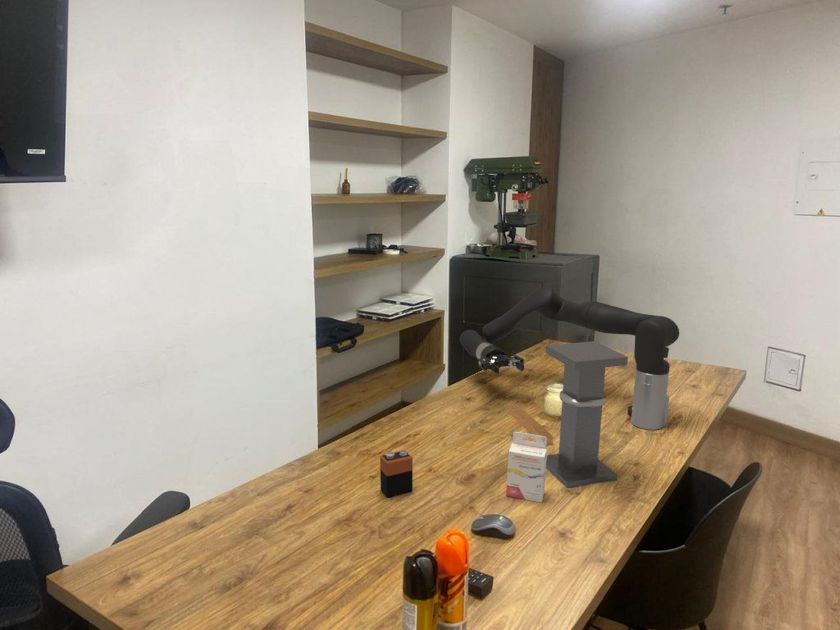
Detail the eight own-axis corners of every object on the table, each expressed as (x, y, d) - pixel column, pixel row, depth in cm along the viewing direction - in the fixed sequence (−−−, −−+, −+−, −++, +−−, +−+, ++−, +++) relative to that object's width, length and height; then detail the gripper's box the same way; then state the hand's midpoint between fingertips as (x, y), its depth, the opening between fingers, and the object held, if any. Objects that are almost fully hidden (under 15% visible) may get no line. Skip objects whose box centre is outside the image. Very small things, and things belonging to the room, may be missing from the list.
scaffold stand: (586, 454, 159) (594, 341, 151) (616, 479, 146) (627, 357, 138) (539, 461, 155) (546, 345, 148) (566, 487, 142) (575, 361, 135)
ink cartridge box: (505, 496, 138) (507, 438, 135) (509, 486, 143) (511, 430, 139) (542, 503, 135) (545, 444, 132) (545, 492, 140) (548, 435, 137)
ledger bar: (517, 413, 188) (517, 404, 187) (552, 445, 165) (552, 435, 164) (508, 414, 187) (508, 405, 186) (542, 447, 164) (543, 437, 164)
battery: (379, 489, 141) (379, 451, 139) (405, 483, 144) (405, 445, 142) (387, 498, 137) (386, 459, 135) (413, 491, 140) (413, 453, 138)
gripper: (471, 346, 199) (490, 360, 183) (509, 343, 203) (531, 356, 187) (470, 367, 200) (489, 382, 185) (509, 363, 204) (530, 378, 189)
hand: (510, 369), depth 186 cm, fingers open, 8 cm apart
